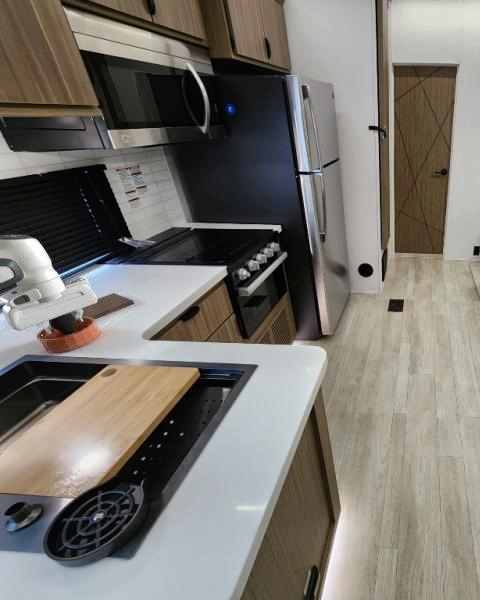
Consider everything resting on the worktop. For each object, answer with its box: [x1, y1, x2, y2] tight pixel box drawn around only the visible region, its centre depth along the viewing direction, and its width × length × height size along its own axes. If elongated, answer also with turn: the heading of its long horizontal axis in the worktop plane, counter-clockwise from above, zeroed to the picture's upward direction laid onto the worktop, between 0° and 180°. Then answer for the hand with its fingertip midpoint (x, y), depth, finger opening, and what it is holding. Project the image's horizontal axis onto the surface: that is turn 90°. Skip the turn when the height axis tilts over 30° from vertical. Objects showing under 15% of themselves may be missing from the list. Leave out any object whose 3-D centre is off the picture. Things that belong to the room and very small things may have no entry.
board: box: [70, 292, 135, 320], centre depth 125 cm, size 16×14×2 cm
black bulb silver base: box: [48, 313, 76, 336], centre depth 104 cm, size 6×6×10 cm
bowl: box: [36, 317, 101, 353], centre depth 105 cm, size 14×14×5 cm
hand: (66, 327), depth 104 cm, fingers closed on black bulb silver base, 6 cm apart
